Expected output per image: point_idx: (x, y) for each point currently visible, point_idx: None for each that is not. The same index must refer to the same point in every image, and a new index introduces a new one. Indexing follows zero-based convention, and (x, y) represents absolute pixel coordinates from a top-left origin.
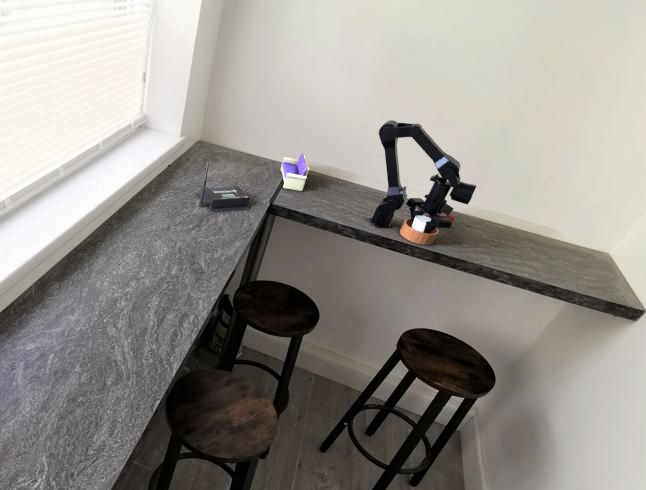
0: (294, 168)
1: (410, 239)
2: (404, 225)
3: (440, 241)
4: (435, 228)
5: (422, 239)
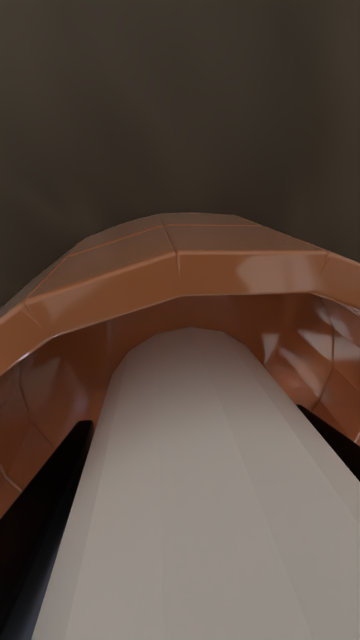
0: None
1: None
2: None
3: (347, 125)
4: (334, 300)
5: None
